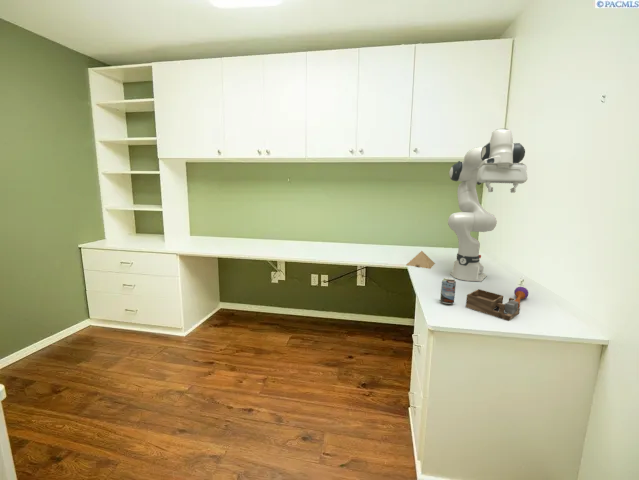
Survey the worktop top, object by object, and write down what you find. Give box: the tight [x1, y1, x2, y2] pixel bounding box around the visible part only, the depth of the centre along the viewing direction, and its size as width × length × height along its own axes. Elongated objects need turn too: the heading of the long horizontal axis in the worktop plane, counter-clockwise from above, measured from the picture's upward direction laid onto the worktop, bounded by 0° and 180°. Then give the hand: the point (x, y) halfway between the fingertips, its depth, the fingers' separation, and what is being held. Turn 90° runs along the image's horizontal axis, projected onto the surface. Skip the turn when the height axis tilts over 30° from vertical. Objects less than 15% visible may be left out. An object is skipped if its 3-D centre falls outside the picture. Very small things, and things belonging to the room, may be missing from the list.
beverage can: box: [440, 277, 457, 305], centre depth 148 cm, size 6×7×12 cm
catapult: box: [465, 289, 521, 322], centre depth 141 cm, size 12×18×6 cm, turn 41°
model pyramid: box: [405, 250, 436, 270], centre depth 216 cm, size 17×17×10 cm
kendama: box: [513, 286, 529, 309], centre depth 151 cm, size 6×6×20 cm
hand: (501, 192), depth 143 cm, fingers open, 8 cm apart
